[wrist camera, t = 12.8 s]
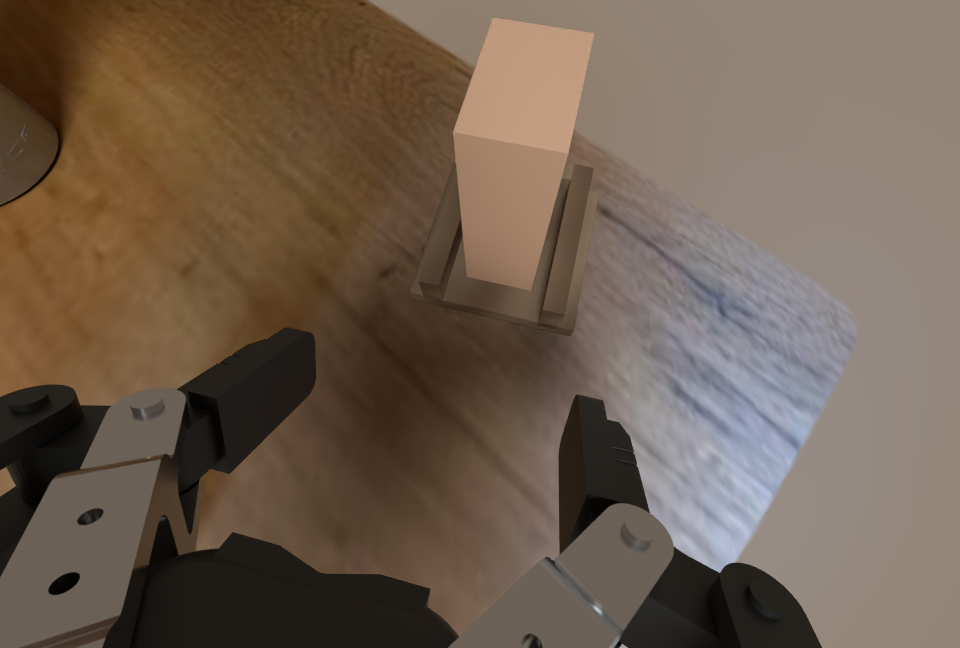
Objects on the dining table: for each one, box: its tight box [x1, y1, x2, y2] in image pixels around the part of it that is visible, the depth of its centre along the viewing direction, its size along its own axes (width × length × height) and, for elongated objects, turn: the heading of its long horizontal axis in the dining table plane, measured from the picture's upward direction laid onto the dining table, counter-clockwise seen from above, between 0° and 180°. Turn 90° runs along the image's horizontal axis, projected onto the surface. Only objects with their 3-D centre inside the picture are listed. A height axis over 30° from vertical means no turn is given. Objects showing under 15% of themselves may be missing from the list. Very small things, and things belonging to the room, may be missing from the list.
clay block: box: [453, 18, 594, 291], centre depth 19 cm, size 4×6×11 cm, turn 166°
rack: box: [409, 163, 599, 336], centre depth 24 cm, size 10×10×3 cm
